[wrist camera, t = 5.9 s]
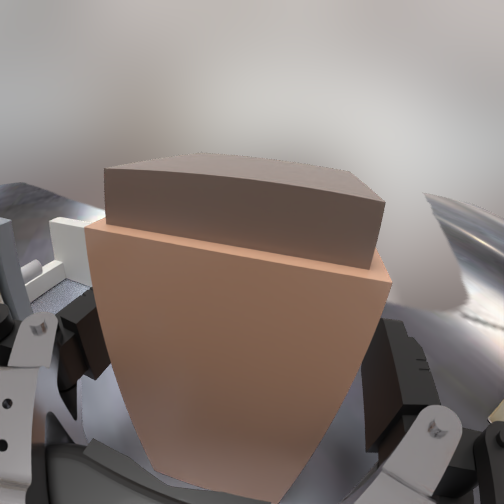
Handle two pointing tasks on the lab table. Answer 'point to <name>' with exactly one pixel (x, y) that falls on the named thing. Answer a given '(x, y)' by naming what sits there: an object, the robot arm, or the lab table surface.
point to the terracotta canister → (235, 310)
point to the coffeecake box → (497, 413)
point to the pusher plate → (15, 274)
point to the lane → (63, 258)
